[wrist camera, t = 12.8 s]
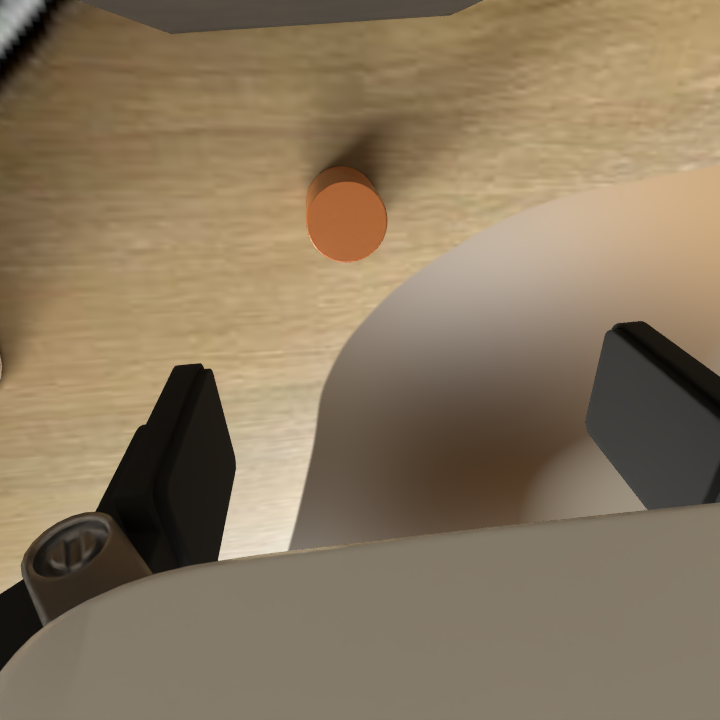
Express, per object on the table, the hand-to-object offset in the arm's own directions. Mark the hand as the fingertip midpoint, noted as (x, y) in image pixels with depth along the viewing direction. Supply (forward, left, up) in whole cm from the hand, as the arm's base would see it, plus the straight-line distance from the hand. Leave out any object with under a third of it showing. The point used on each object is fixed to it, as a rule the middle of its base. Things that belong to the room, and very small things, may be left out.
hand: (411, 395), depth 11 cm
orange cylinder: (0, 0, -22) cm, 22 cm away
